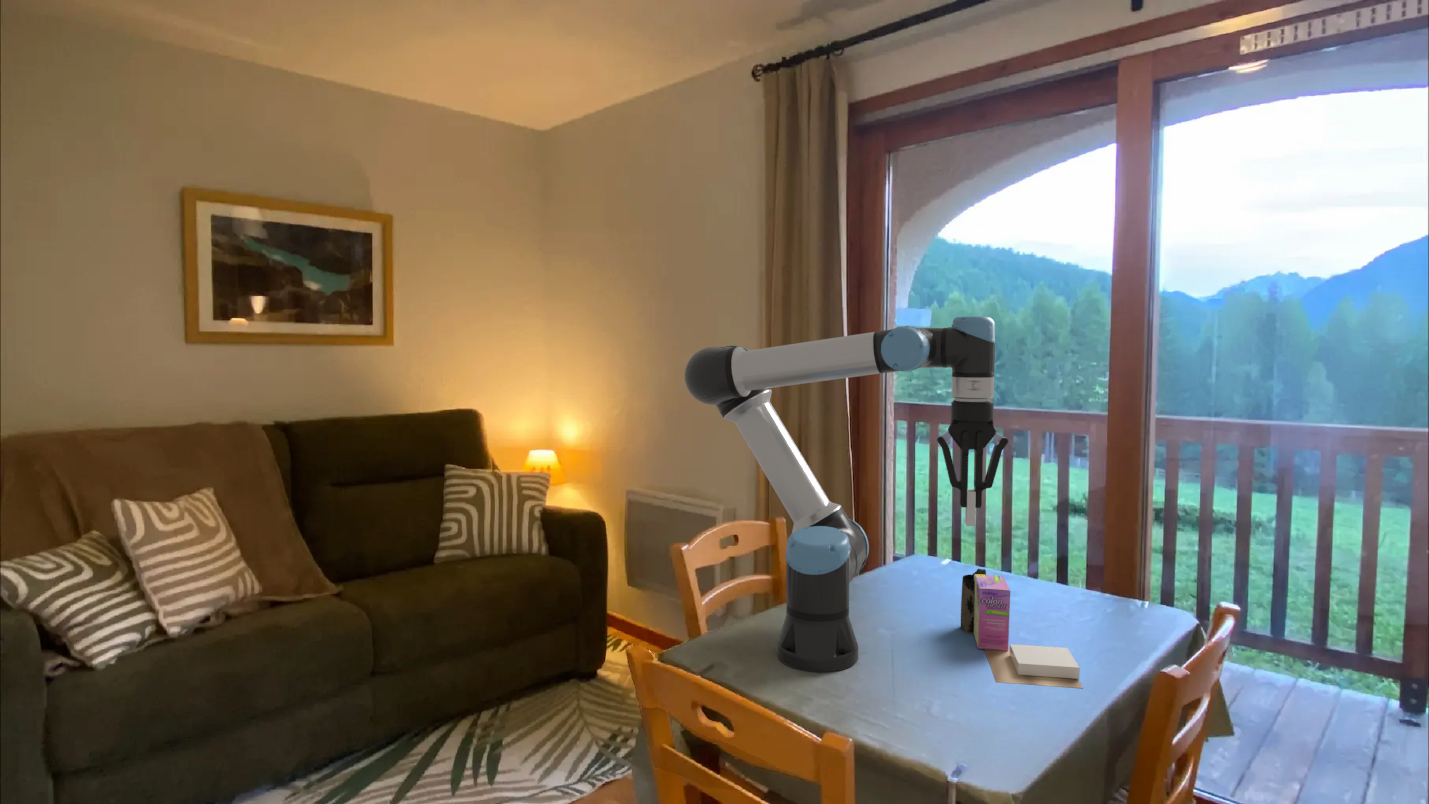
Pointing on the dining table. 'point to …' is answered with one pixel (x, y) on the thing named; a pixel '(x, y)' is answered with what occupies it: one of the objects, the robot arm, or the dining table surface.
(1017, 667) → the tile
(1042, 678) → the mat
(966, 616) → the mug
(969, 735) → the dining table surface
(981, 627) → the box
